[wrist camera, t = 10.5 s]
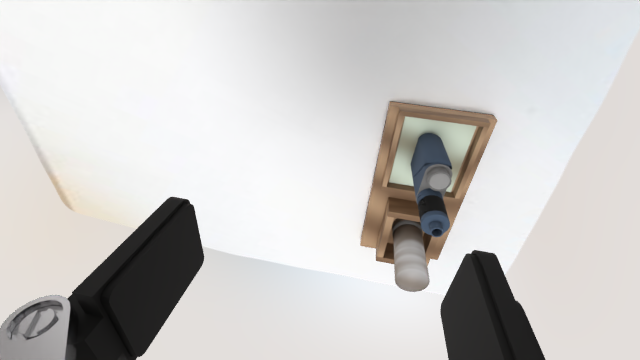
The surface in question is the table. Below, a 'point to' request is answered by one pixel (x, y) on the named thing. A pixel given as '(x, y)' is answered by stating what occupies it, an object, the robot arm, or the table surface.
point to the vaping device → (431, 183)
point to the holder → (398, 189)
